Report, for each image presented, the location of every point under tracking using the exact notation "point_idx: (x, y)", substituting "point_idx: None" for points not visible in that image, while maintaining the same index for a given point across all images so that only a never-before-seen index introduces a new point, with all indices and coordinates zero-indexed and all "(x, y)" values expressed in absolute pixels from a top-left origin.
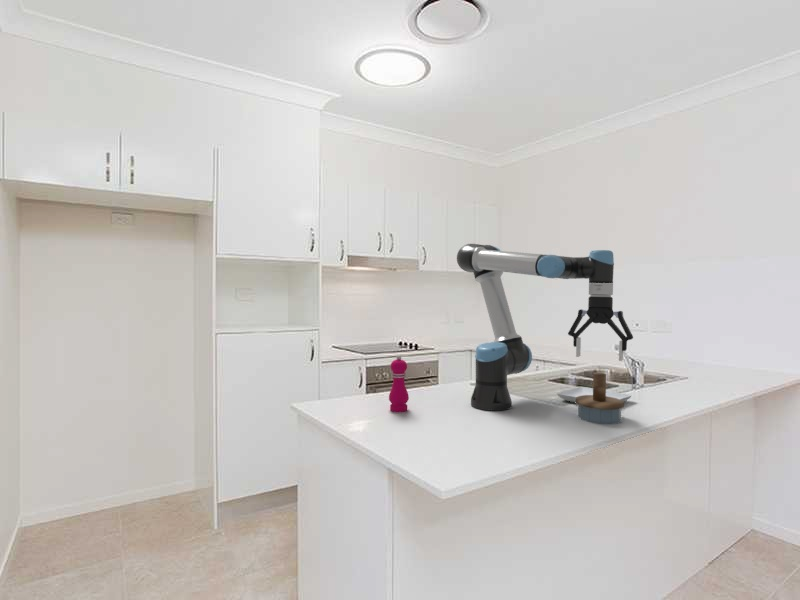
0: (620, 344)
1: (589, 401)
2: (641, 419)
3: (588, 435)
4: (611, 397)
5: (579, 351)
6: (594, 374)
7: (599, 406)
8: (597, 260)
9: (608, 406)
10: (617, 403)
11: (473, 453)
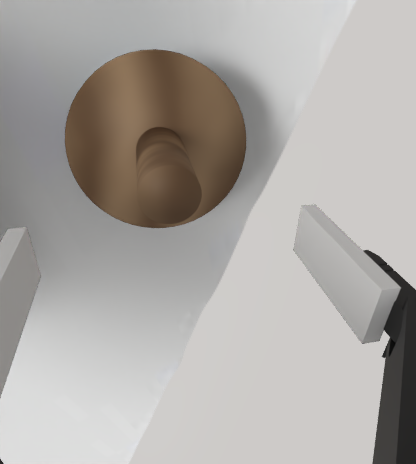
0: (354, 322)
1: (136, 194)
2: (278, 52)
3: (176, 293)
4: (190, 62)
5: (24, 275)
6: (150, 217)
7: (180, 222)
8: None
9: (206, 211)
10: (227, 162)
11: (58, 456)
